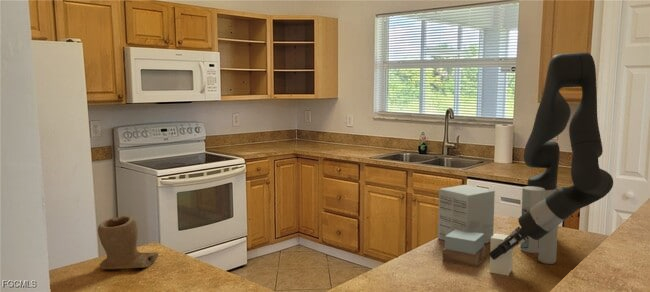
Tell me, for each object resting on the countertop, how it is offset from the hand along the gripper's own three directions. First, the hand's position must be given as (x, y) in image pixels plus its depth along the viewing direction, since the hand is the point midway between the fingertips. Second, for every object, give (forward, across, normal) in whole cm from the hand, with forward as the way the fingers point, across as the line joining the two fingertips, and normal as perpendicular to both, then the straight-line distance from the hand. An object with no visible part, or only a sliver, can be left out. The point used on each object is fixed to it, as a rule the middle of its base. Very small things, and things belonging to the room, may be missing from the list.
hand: (495, 253), depth 143 cm
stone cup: (+65, +60, -58) cm, 106 cm away
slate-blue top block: (+8, -4, -6) cm, 11 cm away
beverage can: (-4, -16, +11) cm, 20 cm away
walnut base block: (+11, -4, -4) cm, 12 cm away
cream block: (+2, 0, +5) cm, 5 cm away
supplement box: (+16, -22, -9) cm, 29 cm away
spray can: (+1, -24, +6) cm, 25 cm away
